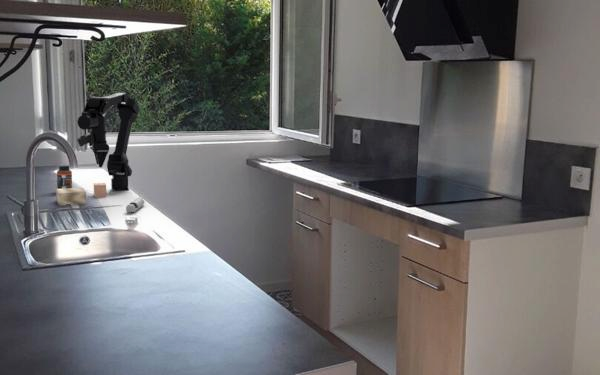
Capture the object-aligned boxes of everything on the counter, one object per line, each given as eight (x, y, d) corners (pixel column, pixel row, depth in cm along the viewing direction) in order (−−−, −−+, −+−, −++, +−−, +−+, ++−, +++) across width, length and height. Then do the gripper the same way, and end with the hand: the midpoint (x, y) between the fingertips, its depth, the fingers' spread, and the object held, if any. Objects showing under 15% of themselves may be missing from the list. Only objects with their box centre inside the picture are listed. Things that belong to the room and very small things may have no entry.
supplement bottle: (67, 193, 268) (66, 166, 266) (54, 192, 270) (53, 165, 268) (75, 190, 274) (74, 164, 272) (62, 190, 275) (61, 164, 273)
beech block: (83, 199, 257) (82, 187, 256) (86, 204, 248) (85, 192, 247) (56, 201, 253) (56, 188, 252) (58, 206, 244) (58, 193, 243)
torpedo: (136, 214, 233) (136, 197, 232) (123, 214, 233) (123, 196, 232) (148, 205, 251) (148, 188, 250) (136, 204, 251) (136, 188, 250)
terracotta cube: (105, 194, 268) (104, 183, 267) (106, 196, 264) (106, 184, 263) (93, 195, 266) (93, 183, 266) (95, 197, 262) (94, 185, 261)
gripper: (75, 126, 266) (76, 163, 268) (79, 130, 249) (80, 169, 252) (103, 125, 270) (104, 162, 273) (108, 129, 253) (109, 168, 256)
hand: (99, 165), depth 263 cm, fingers open, 9 cm apart
